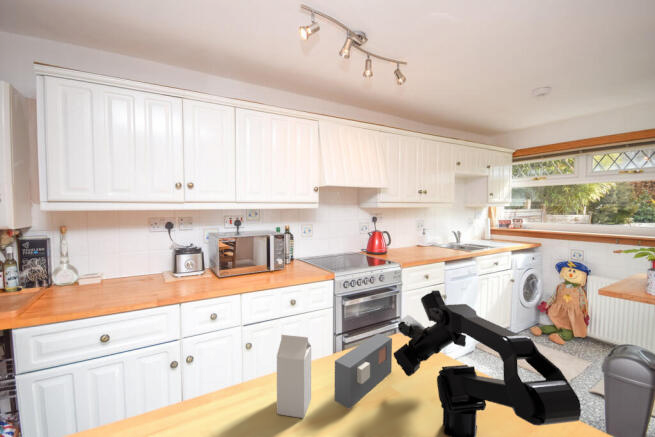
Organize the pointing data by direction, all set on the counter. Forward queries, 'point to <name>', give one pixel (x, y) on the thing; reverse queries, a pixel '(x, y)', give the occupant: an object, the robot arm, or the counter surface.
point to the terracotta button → (382, 355)
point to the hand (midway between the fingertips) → (398, 362)
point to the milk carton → (293, 376)
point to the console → (346, 370)
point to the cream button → (363, 372)
